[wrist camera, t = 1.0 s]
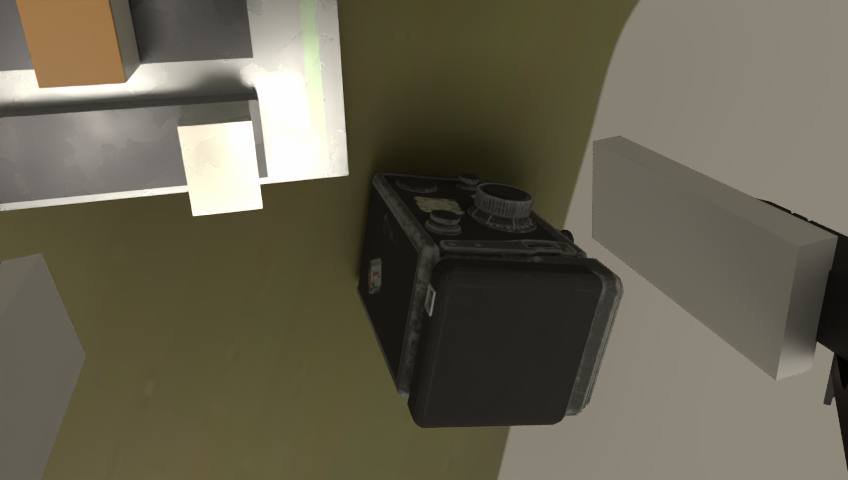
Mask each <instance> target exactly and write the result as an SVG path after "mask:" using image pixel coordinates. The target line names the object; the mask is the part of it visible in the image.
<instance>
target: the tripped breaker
mask: <svg viewBox="0 0 848 480" xmlns="http://www.w3.org/2000/svg"><path fill="white" fill-rule="evenodd" d="M16 3H17V7H18V11H19V14H20V18H21V22H22V26H23V29H24V33H25V37H26V41H27V45H28V48H29V52H30V56H31V60H32V63H33V67H34V71H35V75H36V79H37V82H38V86H39V88H54V87H71V86H87V85H104V84H121V83H126V82H127V81H128V80H129V79H130V77H131V76H132V75H133V74H134V72H135V71H136V70H137V69H138V67H139V66H140V65H141V64H140V59H139V54H138V48H137V43H136V38H135V33H134V28H133V23H132V18H131V13H130V7H129V2H128V0H16Z"/></svg>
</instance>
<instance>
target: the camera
mask: <svg viewBox="0 0 848 480" xmlns="http://www.w3.org/2000/svg"><path fill="white" fill-rule="evenodd" d="M372 183H373V184H372V191H371V199H370V206H369V213H368V220H367V228H366V235H365V242H364V249H363V257H362V264H361V271H360V279H359V285H358V287H357V292H358V295H359V297H360V300H361V302H362V305H363V307H364V310H365V312H366V315H367V317H368V320H369V322H370V325H371V327H372V330H373V332H374V334H375V337H376V339H377V342H378V344H379V347H380V349H381V352H382V354H383V357H384V359H385V362H386V364H387V367H388V369H389V371H390V374H391V376H392V379H393V381H394V384H395V386H396V389H397V391H398V393H399V395H400V396H401V397H409V398H408V403H407V404H408V407H409V410H410V413H411V415H412V418H413V420H414V422H415V423H416V424H417V425H418V426H420V427H422V428H437V427H477V426H514V425H515V426H517V425H553V424H556V423H558V422H560V421H561V420H562V419H563V418H564V416H565V415H566V416H569V415H578V414H579V413H580V412H582V409H584V408H585V407H586V405H588V404H589V402H590V399H591V396H592V393H593V389H594V386H595V383H596V380H597V376H598V373H599V370H600V367H601V363H602V360H603V357H604V354H605V351H606V348H607V344H608V341H609V338H610V335H611V332H612V328H613V325H614V322H615V318H616V315H617V312H618V309H619V306H620V303H621V299H622V296H623V293H624V289H623V285H622V282H621V279H620V278H619V277H618V276H617V275H616V274H615V273H613V272H612V271H611V270H610V269H608V268H607V267H606V266H604V265H603V264H602V263H601V262H599V261H598V260H597V259H593V258H587V255H586V253H585V252H584V251H583V250H582V249H580V248H579V247H578V246H577V245H575V244H574V239H573V235H572V233H571V232H570V231H568V230H561V231H559V230H557V229H556V228H554V227H553V226H552V225H551V224H549V223H548V222H547V221H546V220H544V219H543V218H542V217H541V216H539V215H538V214H537V213H536V212H534V211H533V210H532V209H531V208H532V203H533V199H534V197H533V196H532V194H530V193H529V192H527V191H525V190H522V189H520V188H517V187H513V186H509V185H505V184H498V183H489V182H488V181H487V180H483V181H480V180H479V177H478V176H475V175H472V174H465V173H462V174H459V179H456V178H444V177H432V176H420V175H408V174H396V173H378V174H376V175H375V176H374V177H373V180H372Z"/></svg>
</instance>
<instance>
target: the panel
mask: <svg viewBox="0 0 848 480" xmlns="http://www.w3.org/2000/svg"><path fill="white" fill-rule="evenodd" d="M128 2H129V7H130V13H131V18H132V23H133V28H134V33H135V38H136V43H137V48H138V54H139V59H140V64H141V65H140V66H139V67H138V69H137V70H136V71H135V72H134V74H133V75H132V76H131V77H130V79H129V80H128V81H127V82H126V83H121V84H104V85H87V86H71V87H54V88H39V86H38V82H37V79H36V75H35V71H34V67H33V63H32V60H31V56H30V52H29V48H28V45H27V41H26V37H25V33H24V29H23V26H22V22H21V18H20V14H19V11H18V7H17V3H16V0H0V211H4V210H14V209H24V208H33V207H43V206H53V205H63V204H72V203H82V202H92V201H102V200H112V199H121V198H131V197H141V196H151V195H160V194H170V193H180V192H189V196H190V201H191V207H192V213H193V216H200V215H209V214H218V213H227V212H236V211H245V210H254V209H263V206H262V198H261V191H260V184H268V183H278V182H288V181H297V180H307V179H317V178H327V177H336V176H346V175H348V160H347V145H346V130H345V115H344V100H343V85H342V70H341V55H340V40H339V25H338V10H337V0H128Z"/></svg>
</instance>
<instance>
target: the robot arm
mask: <svg viewBox="0 0 848 480" xmlns="http://www.w3.org/2000/svg"><path fill="white" fill-rule="evenodd" d="M592 203H593V204H592V206H593V207H592V209H593V211H592V237H593V238H594V239H595V240H596V241H597V242H599V243H600V244H601V245H603V246H604V247H605V248H606V249H608V250H609V251H610V252H612V253H613V254H614V255H616V256H617V257H618V258H619V259H621V260H622V261H623V262H625V263H626V264H627V265H628V266H630V267H631V268H632V269H633V270H635V271H636V272H637V273H639V274H640V275H641V276H642V277H644V278H645V279H646V280H648V281H649V282H650V283H652V284H653V285H654V286H655V287H657V288H658V289H659V290H661V291H662V292H663V293H664V294H666V295H667V296H668V297H669V298H671V299H672V300H673V301H675V302H676V303H677V304H678V305H680V306H681V307H682V308H684V309H685V310H686V311H687V312H689V313H690V314H691V315H692V316H694V317H695V318H696V319H698V320H699V321H700V322H701V323H703V324H704V325H705V326H707V327H708V328H709V329H710V330H712V331H713V332H714V333H716V334H717V335H718V336H720V337H721V338H722V339H723V340H725V341H726V342H727V343H728V344H730V345H731V346H732V347H734V348H735V349H736V350H737V351H739V352H740V353H741V354H743V355H744V356H745V357H747V358H748V359H749V360H751V361H752V362H753V363H754V364H756V365H757V366H758V367H759V368H761V369H762V370H763V371H764V372H766V373H767V374H768V375H769V376H771V377H772V378H773V379H775V380H780V379H783V378H786V377H789V376H793V375H796V374H799V373H803V372H806V371H809V370H811V368H812V363H813V358H814V353H815V348H816V343H817V342H819V343H821V344H822V345H824V346H825V347H827V348H828V349H830V350H831V351H833V352H834V357H833V362H832V367H831V371H830V375H829V380H828V385H827V390H826V394H825V399H824V404H826V405H831V402H832V398H833V397H835V400H836V406H837V411H838V417H839V423H840V429H841V435H842V440H843V446H844V452H845V458H846V463H847V469H848V237H847V236H845V235H843V234H840V233H838V232H836V231H834V230H832V229H829V228H827V227H825V226H823V225H820V224H818V223H816V222H814V221H808V220H807V218H805V217H803V216H801V215H798V214H796V213H793V214H792V213H791V211H790V210H788V209H785V208H783V207H781V206H779V205H776V204H774V203H772V202H769V201H765V200H761V199H757V198H754V197H752V196H749V195H747V194H745V193H743V192H741V191H738V190H736V189H734V188H732V187H730V186H727V185H726V184H723V183H721V182H719V181H717V180H715V179H712V178H710V177H708V176H706V175H704V174H702V173H699V172H697V171H695V170H693V169H691V168H689V167H686V166H684V165H682V164H680V163H678V162H675V161H673V160H671V159H669V158H667V157H665V156H663V155H660V154H658V153H656V152H654V151H652V150H649V149H647V148H645V147H643V146H641V145H639V144H637V143H634V142H632V141H630V140H628V139H626V138H623V137H621V136H616V137H611V138H606V139H601V140H597V141H593V202H592ZM85 358H86V356H85V353H84V351H83V349H82V346H81V344H80V342H79V339H78V337H77V335H76V332H75V330H74V328H73V325H72V323H71V321H70V318H69V316H68V314H67V311H66V309H65V307H64V304H63V302H62V300H61V297H60V295H59V293H58V290H57V288H56V286H55V283H54V281H53V279H52V276H51V274H50V272H49V269H48V267H47V265H46V262H45V260H44V258H43V255H42V253H40V254H35V255H30V256H25V257H20V258H15V259H10V260H5V261H2V263H1V264H0V480H41V478H42V475H43V473H44V470H45V467H46V464H47V462H48V459H49V456H50V453H51V451H52V448H53V445H54V443H55V440H56V437H57V434H58V432H59V429H60V426H61V424H62V421H63V418H64V415H65V413H66V410H67V407H68V405H69V402H70V399H71V396H72V394H73V391H74V388H75V386H76V383H77V380H78V377H79V375H80V372H81V369H82V367H83V364H84V361H85Z"/></svg>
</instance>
